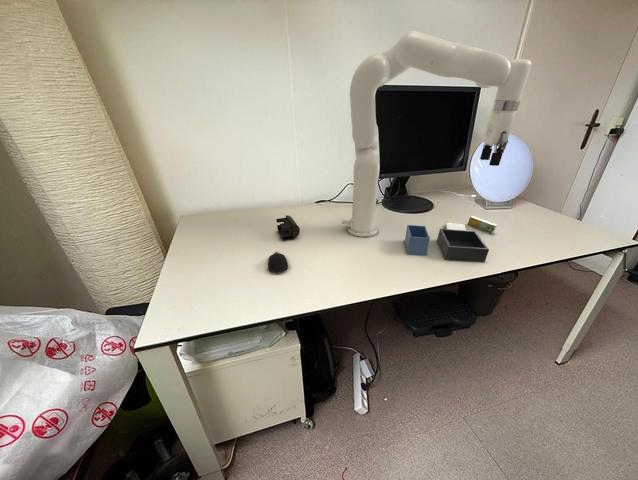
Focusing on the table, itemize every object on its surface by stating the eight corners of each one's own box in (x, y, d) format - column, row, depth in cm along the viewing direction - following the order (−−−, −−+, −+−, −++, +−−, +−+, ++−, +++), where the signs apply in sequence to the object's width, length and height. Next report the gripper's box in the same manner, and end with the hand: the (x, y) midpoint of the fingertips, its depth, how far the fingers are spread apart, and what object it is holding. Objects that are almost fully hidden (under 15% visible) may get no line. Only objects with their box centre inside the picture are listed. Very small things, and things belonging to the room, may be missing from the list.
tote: (445, 259, 100) (448, 246, 97) (437, 240, 113) (439, 228, 110) (484, 262, 99) (489, 249, 96) (471, 242, 112) (475, 230, 109)
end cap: (300, 238, 110) (299, 223, 106) (283, 241, 108) (281, 225, 104) (294, 229, 118) (292, 214, 114) (277, 231, 115) (275, 216, 111)
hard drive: (463, 227, 125) (468, 239, 115) (445, 225, 126) (447, 237, 116) (464, 224, 124) (469, 235, 114) (445, 222, 125) (448, 233, 115)
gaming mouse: (284, 251, 101) (283, 242, 99) (289, 273, 89) (288, 262, 87) (267, 253, 99) (265, 243, 97) (269, 276, 88) (267, 265, 85)
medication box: (494, 233, 121) (497, 224, 119) (491, 234, 119) (495, 225, 117) (469, 223, 128) (472, 215, 126) (466, 224, 127) (469, 216, 125)
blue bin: (407, 253, 103) (410, 237, 99) (404, 240, 112) (407, 224, 108) (426, 255, 102) (429, 238, 98) (422, 241, 111) (425, 226, 107)
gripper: (484, 105, 97) (471, 157, 106) (504, 107, 83) (486, 167, 92) (506, 106, 97) (491, 158, 106) (529, 108, 82) (509, 168, 92)
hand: (488, 162), depth 99 cm, fingers open, 9 cm apart
